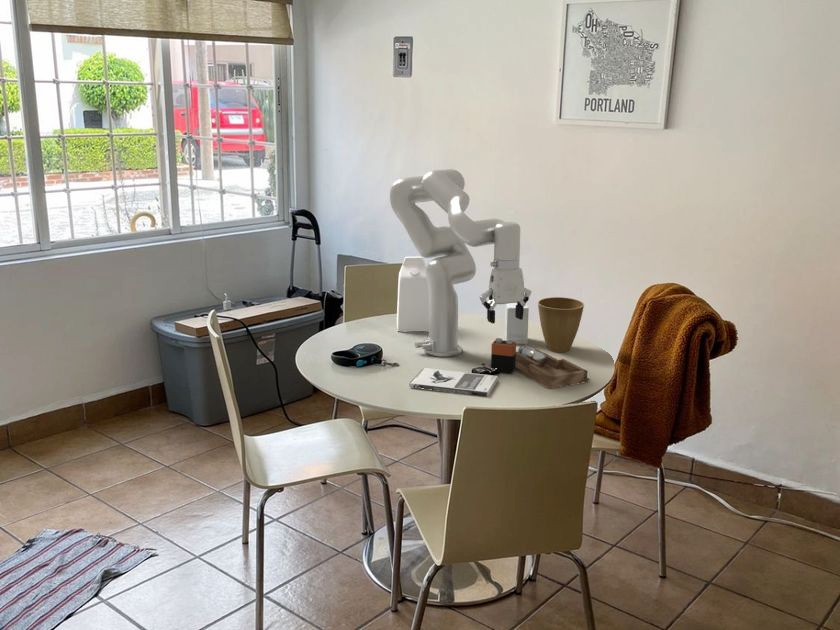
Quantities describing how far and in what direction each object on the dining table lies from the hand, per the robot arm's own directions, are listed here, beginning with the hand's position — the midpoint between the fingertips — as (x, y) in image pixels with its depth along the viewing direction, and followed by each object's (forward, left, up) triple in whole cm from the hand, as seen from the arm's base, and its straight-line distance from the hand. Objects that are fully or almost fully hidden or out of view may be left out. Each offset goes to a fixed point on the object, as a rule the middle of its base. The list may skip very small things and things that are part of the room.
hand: (505, 320), depth 235 cm
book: (-19, -4, -17) cm, 26 cm away
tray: (+11, -6, -16) cm, 20 cm away
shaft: (+11, +1, -15) cm, 19 cm away
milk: (-5, +55, -16) cm, 58 cm away
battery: (0, 0, -16) cm, 16 cm away
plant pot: (+28, +11, -16) cm, 34 cm away
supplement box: (+20, +25, -16) cm, 36 cm away
